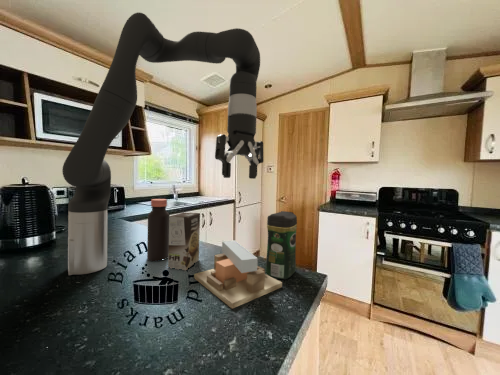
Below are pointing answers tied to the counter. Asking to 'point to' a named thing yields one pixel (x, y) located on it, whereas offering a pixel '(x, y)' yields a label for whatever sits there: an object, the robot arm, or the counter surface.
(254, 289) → the jig
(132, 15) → the robot arm
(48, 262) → the counter surface
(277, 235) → the coffee jar
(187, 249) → the coffee box
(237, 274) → the tall peach block
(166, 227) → the bottle
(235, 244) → the light grey bar
